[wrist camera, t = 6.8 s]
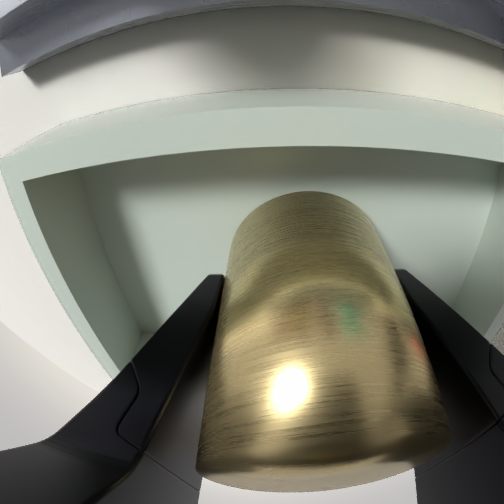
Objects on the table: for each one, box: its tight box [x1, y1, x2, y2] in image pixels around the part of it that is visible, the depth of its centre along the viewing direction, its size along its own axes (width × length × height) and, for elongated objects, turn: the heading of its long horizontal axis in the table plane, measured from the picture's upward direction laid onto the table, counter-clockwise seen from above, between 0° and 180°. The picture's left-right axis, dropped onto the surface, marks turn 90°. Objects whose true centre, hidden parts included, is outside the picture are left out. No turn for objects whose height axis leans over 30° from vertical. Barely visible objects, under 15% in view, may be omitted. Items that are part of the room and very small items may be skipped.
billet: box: [195, 191, 452, 492], centre depth 6 cm, size 4×4×6 cm
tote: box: [0, 88, 504, 380], centre depth 8 cm, size 14×9×3 cm, turn 94°
